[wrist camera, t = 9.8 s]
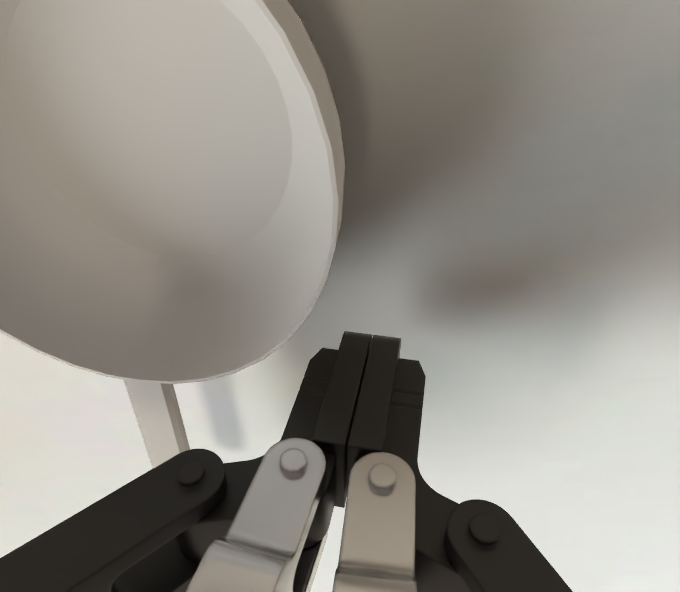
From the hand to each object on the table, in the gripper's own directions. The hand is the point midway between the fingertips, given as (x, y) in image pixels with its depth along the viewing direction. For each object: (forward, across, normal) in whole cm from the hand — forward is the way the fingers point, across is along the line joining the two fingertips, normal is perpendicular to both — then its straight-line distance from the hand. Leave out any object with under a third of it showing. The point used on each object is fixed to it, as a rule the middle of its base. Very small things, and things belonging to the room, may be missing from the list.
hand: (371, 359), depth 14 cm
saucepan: (+2, +6, -2) cm, 6 cm away
